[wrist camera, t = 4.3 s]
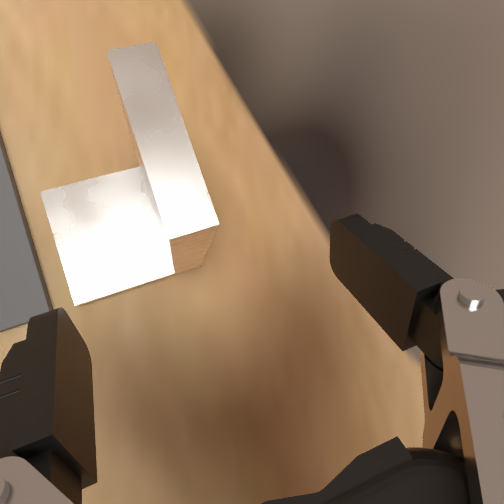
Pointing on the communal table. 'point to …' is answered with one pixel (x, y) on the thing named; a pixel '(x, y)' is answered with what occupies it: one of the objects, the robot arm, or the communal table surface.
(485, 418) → the robot arm
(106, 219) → the aluminium bracket
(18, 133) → the communal table surface
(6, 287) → the corner mat
